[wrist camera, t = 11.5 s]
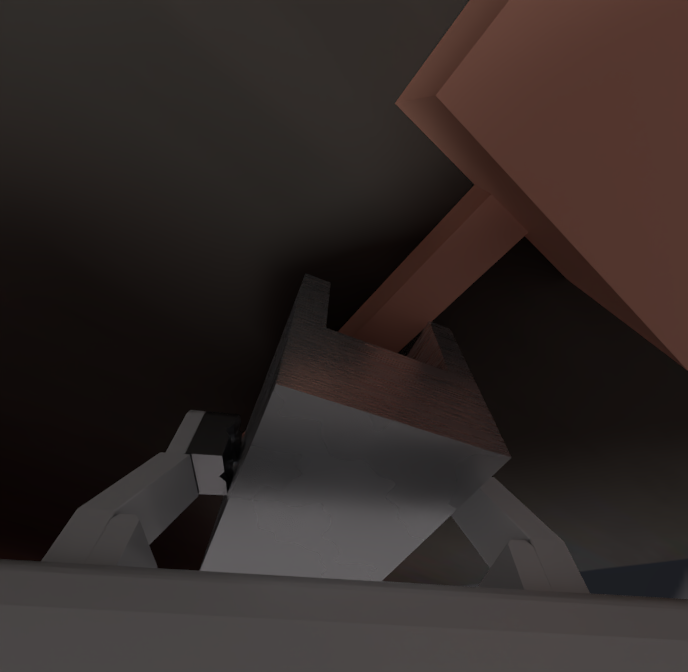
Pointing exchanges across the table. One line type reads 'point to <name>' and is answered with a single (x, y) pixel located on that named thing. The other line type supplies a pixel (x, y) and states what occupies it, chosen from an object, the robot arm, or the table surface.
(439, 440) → the grey notched block
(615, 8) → the mallet
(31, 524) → the table surface
